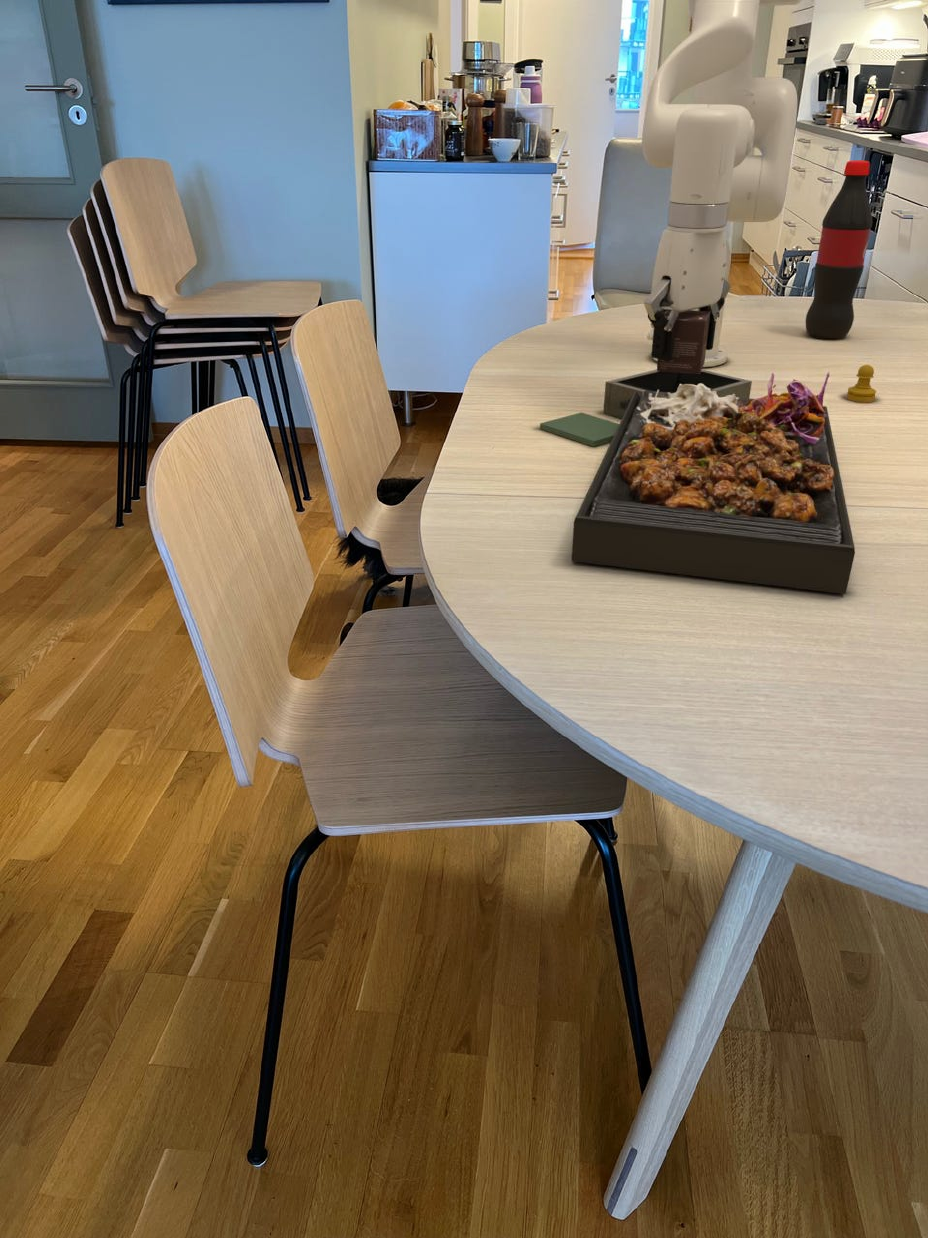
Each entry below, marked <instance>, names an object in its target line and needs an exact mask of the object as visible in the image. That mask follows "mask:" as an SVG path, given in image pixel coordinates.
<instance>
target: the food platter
mask: <svg viewBox="0 0 928 1238" xmlns="http://www.w3.org/2000/svg"><path fill="white" fill-rule="evenodd" d="M830 374H831V373H830V371H828V372H827V374H826V377H825V380H824V383H823V386H822V387H821V390H820V392H819V394H814V393H813V392H812V391H811V389H810V388H809V387H808V386H807V385H806V384H805V383H804V382H801V381H800V380H797V379H794V378H793V379H792V381H791V382H789V384H788V385H786V390H787V392H782V393H780V395H779V394H778V393H776V392H775V393H773V389H775V387H776V386H777V384H774V382H775V381H774V380H775V374H774V373H773V372H772V373H771V377H770V379H769V381H768V382H767V395H765V396H760V397H757V398H749V399H747V398H737V397H735V394H732V395H727V396H726V397H720V396H717V393H716V391H710V389H711V388H707V387H706V386H705V385H703V384H702V383H699V384H698V385H697V386H696V385H693V384H684V385H682V384H680V385H679V387H678V388H677V392H675V393H669V392H659V390H657V392H656V391H644V392H642V393H640V392H634V394H633V396H632V399H631V401H630V403H629V405H628V407H627V409H626V411H625V413H624V416H623V418H622V419H621V420H620V421H619V423H618V424H619V426H618V428H617V430H616V433H615V435H614V437H613V439H612V441H611V442H609V446H608V447H607V449H606V452H605V453H604V456H603V458H602V460H601V463H600V464H599V467H598V469H597V470H596V473H595V475H594V477H593V480H592V482H591V484H590V486H589V488H588V490H587V492H586V494H585V496H584V498H583V501H582V503H581V504H580V507H579V509H578V510H577V511H578V512H577V513H576V516H575V518H574V520H573V528H572V529H573V531H572V547H571V562H577V563H586V564H592V565H593V564H594V565H601V566H609V567H618V568H627V569H636V570H644V571H651V572H658V573H659V572H660V573H667V574H676V575H682V576H683V575H685V576H691V577H700V578H701V577H702V578H708V579H709V578H710V579H716V580H717V579H718V580H726V581H732V582H733V581H735V582H743V583H751V584H759V585H765V586H776V587H784V588H790V589H791V588H793V589H800V590H809V591H816V592H817V591H818V592H825V593H833V594H841V595H846V594H847V590H848V586H849V581H850V576H851V571H852V568H853V564H854V559H855V554H856V549H855V543H854V539H853V533H852V528H851V523H850V517H849V513H848V508H847V503H846V498H845V492H844V488H843V487H844V486H843V483H842V478H841V472H840V467H839V461H838V457H837V452H836V447H835V442H834V437H833V431H832V426H831V421H830V416H829V411H828V407H827V406H825V405H823V404H824V395H825V392H826V387H827V383H828V381H829V378H830Z"/></svg>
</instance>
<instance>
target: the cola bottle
mask: <svg viewBox="0 0 928 1238" xmlns="http://www.w3.org/2000/svg"><path fill="white" fill-rule="evenodd" d="M870 168H871V163H870V161H868V160H862V159H861V160H860V159H858V160H857V159H856V160H854V159H853V160H848V161H846V164H845V167H844V172H843V177H845V178H844V180H843V183H842V186H841V188H840V190H839V192H838V193H837V195H836V196H835V198H834V199H833V201H832V203H831V204H830V206H829V208H828V210H827V212H826V213H825V216H824V217H823V220H822V223H821V226H822V228H821V232H820V233H821V234H820V239H819V245H818V251H817V257H816V263H814V281H813V282H814V283H813V284H814V285H813V300H812V302H811V304H810V306H809V308H808V310H807V312H806V316H805V330H806V332H807V334H808V335H809V336H811V337H812V338H816V339H820V340H840V339H843V338H844V337H846V336H847V335H848V334H849V333H850V331H851V329H852V327H853V324H854V321H855V312H854V303H853V301H854V298H855V295H856V292H857V289H858V287H859V285H860V284H859V283H860V280H861V277H862V275H863V272H864V268H865V260H866V253H867V249H868V244H869V238H870V233H871V229H872V227H873V215H872V210H871V205H870V200H869V197H868V193H867V180H866V179H867V178H868V177H869V174H870Z"/></svg>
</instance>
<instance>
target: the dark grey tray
mask: <svg viewBox="0 0 928 1238" xmlns="http://www.w3.org/2000/svg"><path fill="white" fill-rule="evenodd" d="M699 383H702V384H703V385H705V386H706V387H707V388H711V389H710V391H716V393H717V396H720V397H726V396H727V395H732V394H735V397H737V398H747V399H751V398H750V397H751V390H752V384H753V381H752V380H749V379H744V378H739V377H736V376H731V375H727V374H723V373H718V372H715V371H710V370H705V369H702V370H701V372H700V374H693V373H680V372H665V371H657V369H653V370H648V371H645V372H639V373H636V374H632V375H629V376H628V375H627V376H625V377H620V378H616V379H611V380H608V381H605V384H604V397H603V399H604V400H603V413H602V414H605V415H608V416H611V417H614V418H618V419H621V420H622V418H623V416H624V413H625V411H626V409H627V407H628V405H629V403H630V401H631V399H632V396H633V394H634V392H640V393H642V392H644V391H656V392H657V390H659V392H669V393H675V392H677V388H678V387H679V385H680V384H682V385H684V384H693V385H696V386H697V385H698V384H699Z"/></svg>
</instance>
